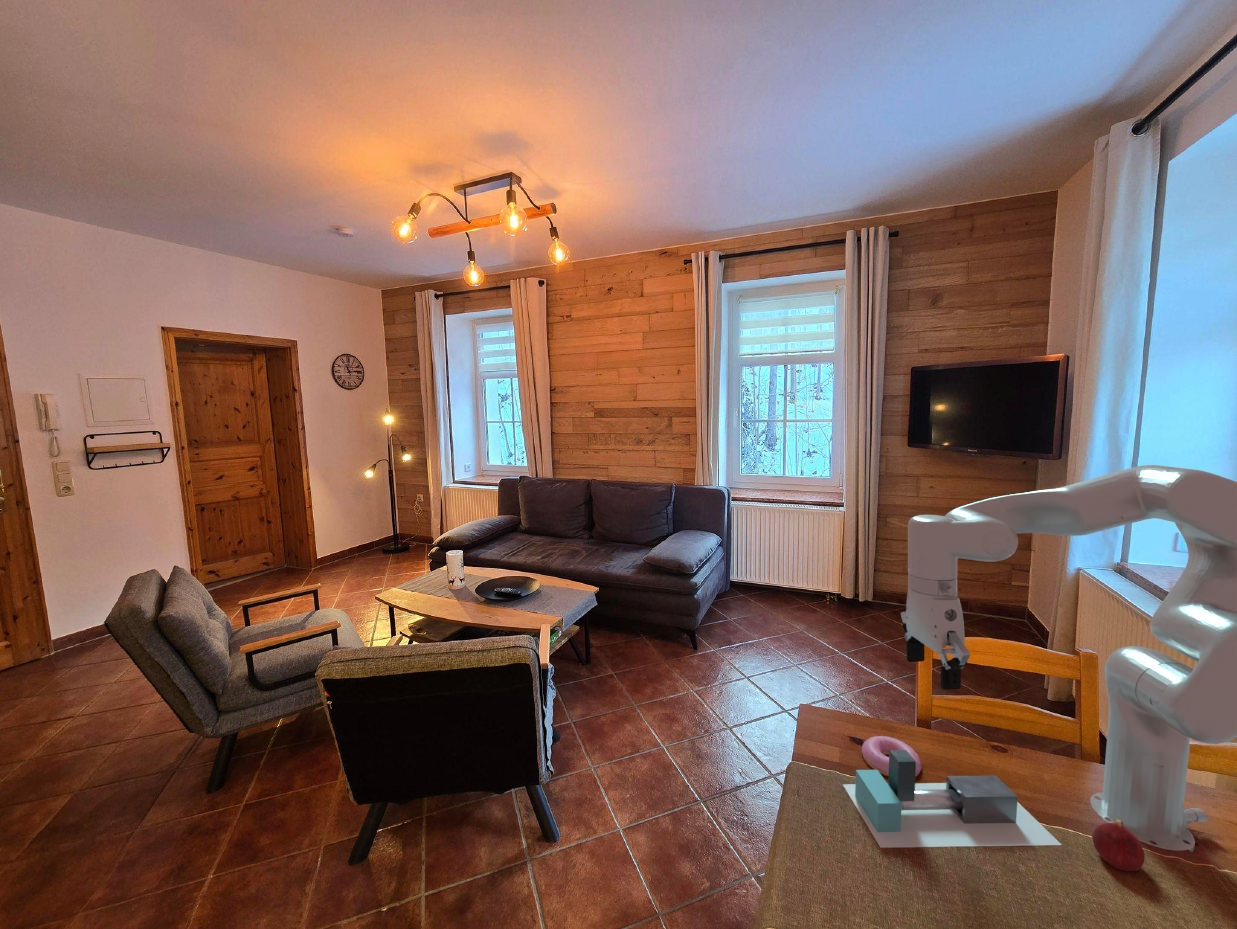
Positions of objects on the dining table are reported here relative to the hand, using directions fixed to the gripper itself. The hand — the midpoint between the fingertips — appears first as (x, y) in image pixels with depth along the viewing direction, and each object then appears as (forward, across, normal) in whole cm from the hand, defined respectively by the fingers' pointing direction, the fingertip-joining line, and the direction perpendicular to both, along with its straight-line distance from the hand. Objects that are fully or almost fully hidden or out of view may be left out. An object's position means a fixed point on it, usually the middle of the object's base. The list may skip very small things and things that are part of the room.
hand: (932, 674), depth 90 cm
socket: (+24, -4, +13) cm, 27 cm away
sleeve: (+24, -4, -6) cm, 25 cm away
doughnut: (+25, +10, +2) cm, 27 cm away
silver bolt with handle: (+23, -4, +3) cm, 23 cm away
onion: (+26, -15, -20) cm, 36 cm away
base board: (+25, -4, +1) cm, 25 cm away
